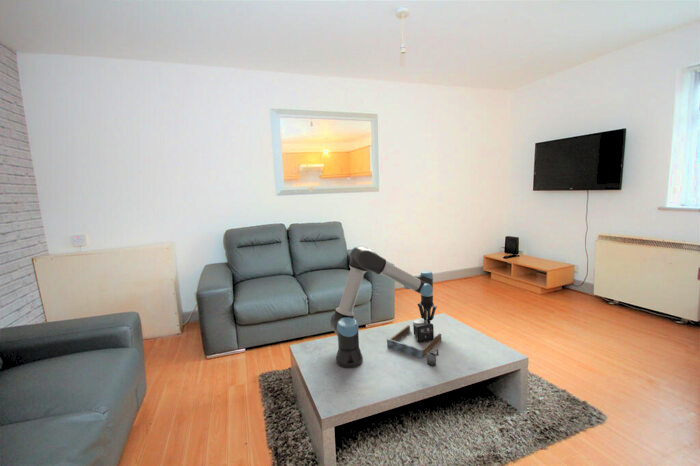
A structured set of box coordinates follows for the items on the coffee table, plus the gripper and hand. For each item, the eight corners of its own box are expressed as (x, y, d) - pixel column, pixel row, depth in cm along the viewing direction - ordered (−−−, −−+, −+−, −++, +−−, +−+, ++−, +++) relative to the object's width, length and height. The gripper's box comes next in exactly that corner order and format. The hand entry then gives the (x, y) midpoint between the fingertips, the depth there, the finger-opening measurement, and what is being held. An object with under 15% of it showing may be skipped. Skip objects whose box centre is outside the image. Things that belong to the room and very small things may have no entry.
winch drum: (425, 364, 171) (424, 348, 170) (429, 360, 175) (429, 344, 174) (436, 368, 167) (436, 352, 166) (440, 364, 171) (440, 348, 170)
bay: (387, 347, 192) (386, 339, 191) (408, 330, 212) (408, 323, 211) (422, 358, 177) (422, 350, 176) (441, 340, 197) (441, 332, 196)
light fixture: (424, 333, 208) (423, 317, 207) (434, 341, 196) (434, 324, 195) (409, 335, 206) (408, 319, 205) (418, 344, 193) (417, 327, 192)
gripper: (415, 294, 205) (415, 328, 209) (433, 298, 197) (434, 333, 201) (420, 291, 211) (420, 324, 215) (438, 294, 203) (439, 329, 206)
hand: (427, 329), depth 208 cm, fingers closed
